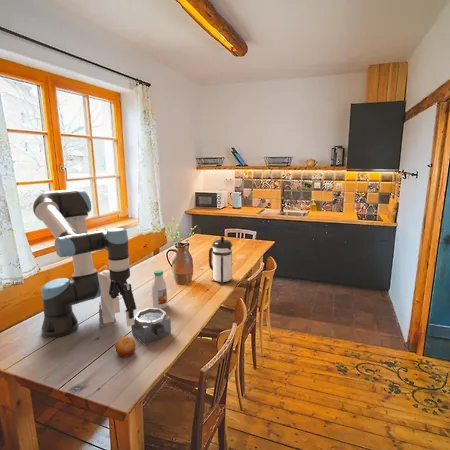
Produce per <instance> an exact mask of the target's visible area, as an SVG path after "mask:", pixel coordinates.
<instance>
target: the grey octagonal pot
mask: <svg viewBox="0 0 450 450" xmlns="http://www.w3.org/2000/svg"><path fill="white" fill-rule="evenodd" d="M171 318H172V317H170V316H169V315H167V312H166V311H164V310H163V309H160V308H153V307H147V308H144V309H141V310H139V311H137V313H136V314H134V325H132V326H130V328H131V333H132V334H133V335H134V336H135V337H136V338H137V340H139V339H140V340H141V341H140V342H141V343H143V344H144V345H145V344H146V345H148V344H150V343H152V342H155V341H157V339H158V340H160V339H162V338H165V337H167V336H169V334H170V335H171V334H172V325H171V322H172V321H171V320H172V319H171ZM164 336H165V337H164ZM147 343H148V344H147Z"/></svg>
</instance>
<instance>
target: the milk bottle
mask: <svg viewBox="0 0 450 450" xmlns="http://www.w3.org/2000/svg"><path fill="white" fill-rule="evenodd" d="M153 276H154V278H153V279H154V280H153V282H152V284H151V285H152V286H151V297H152V301H151V303H152V308H160V309H162V310H163V309H165V308H166V307H168V293H167V291H168V289H167V283H166V281H165V279H164V271H163V270H162V269H158V270H154V272H153Z"/></svg>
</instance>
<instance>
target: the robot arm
mask: <svg viewBox="0 0 450 450" xmlns="http://www.w3.org/2000/svg"><path fill="white" fill-rule="evenodd" d="M32 210H33V213H34V216H36V218H37V220H39V221H42V222H43V223H44V225H45V226H46V227H47V229H48V231H49V232H50V233H51V235H52V236H53V237H54V239H55V240H54V249H55V252H56V254H57V256H58V257H60V258H66V257H67V258H68V257H69V258H70V257H71V258H72V259H71V260H72V265H73V270H74V271H73V273H72V274H71V280H70V279H69V278H67V277H60V278H55V279H52V280H50V281H47V282H46V283H45V284H44V285H42V287H41V291H40V292H41V301H42V309H43V321H42V324H41V325H42V326H41V334H43V335H44V337H45V336H46V337H45V338H48V337H51V338H52V339H54V338H55V337H56V338H61V337H65V336H67V335H69V334H70V335H71V334H72V333H73V332H75V331H76V330H77V329H78V327H79V320H78V318H77V316H76V315H75V313H74V311H73V306H74V305H78V304H81V303H84V302H88V301H90V300H95V299H97V298H101V289H100V285H99V280H98V271H99V270H98V269H96V268H95V267H94V262H93V256H92V253H93V252H97V251H103V250H105V251H107V261H108V263H107V264H108V271H109V273H110V279H111V283H110V290H109V295H111V298H112V308H113V314H115V315H116V314H118V313H120V312H121V307H120V296H122V300H123V303H124V305H125V308H126V309H125V313H126V314H125V316H126V327H128V328H129V327H131V326H132V325H134V315H135V313H134V312H135V310H137V305H136V302H135V301H136V300H135V299H134V293H133V290H132V284H131V283H128V281H127V280H128V279H129V278H130V277H131V268H130V261H131V258H130V253H129V237H128V230H127V229H126V228H123V227H114V228H109V229H107V228H98V229H97V230H95V231H91V232H88V227H87V220H86V219H87V218H88V217H89V213H90V212H91V211H92V202H91V199H90V196H89V194H88V193H87V192H86V191H85V190H84V189H80V188H79V189H77V188H76V189H75V188H74V189H61V190H49V191H45V192H43V193H40V195H39V196H37V197H36V199H35V201H34V202H33V205H32ZM43 335H42V336H43ZM53 337H54V338H53ZM51 338H50V339H51ZM56 338H55V339H56Z"/></svg>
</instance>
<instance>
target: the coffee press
mask: <svg viewBox="0 0 450 450" xmlns="http://www.w3.org/2000/svg"><path fill="white" fill-rule="evenodd" d="M211 245H212V247H210V248H209V251H208V266H209V269H210V270H211V271H212V277H211V279H210V281H211V282H214V281H216V282H218V283H219V282H220V286H224V282H226V283H227V282H229V281H231V282H234V278H233V277H232V270H233V261H232V260H233V249H232V248H233V244H232V242H231V240H228V239H225V237H224V236H220V239H217V240H214V241H213V243H212V244H211Z"/></svg>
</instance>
